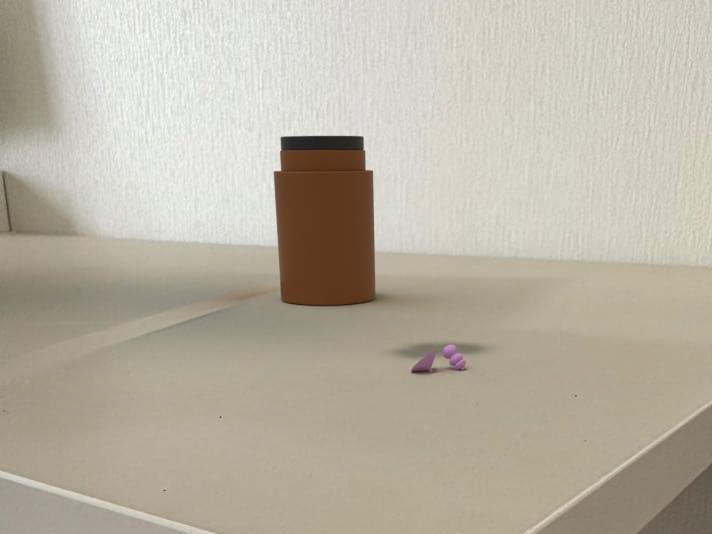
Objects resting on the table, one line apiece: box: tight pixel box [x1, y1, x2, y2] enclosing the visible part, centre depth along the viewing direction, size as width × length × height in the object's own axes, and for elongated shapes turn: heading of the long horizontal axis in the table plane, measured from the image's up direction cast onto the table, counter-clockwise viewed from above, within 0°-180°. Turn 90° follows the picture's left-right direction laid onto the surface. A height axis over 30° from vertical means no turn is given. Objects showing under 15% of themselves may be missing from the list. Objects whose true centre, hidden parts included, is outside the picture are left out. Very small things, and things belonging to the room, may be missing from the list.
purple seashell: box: [410, 344, 467, 374], centre depth 49 cm, size 3×2×2 cm
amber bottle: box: [273, 135, 377, 306], centre depth 72 cm, size 8×8×12 cm
